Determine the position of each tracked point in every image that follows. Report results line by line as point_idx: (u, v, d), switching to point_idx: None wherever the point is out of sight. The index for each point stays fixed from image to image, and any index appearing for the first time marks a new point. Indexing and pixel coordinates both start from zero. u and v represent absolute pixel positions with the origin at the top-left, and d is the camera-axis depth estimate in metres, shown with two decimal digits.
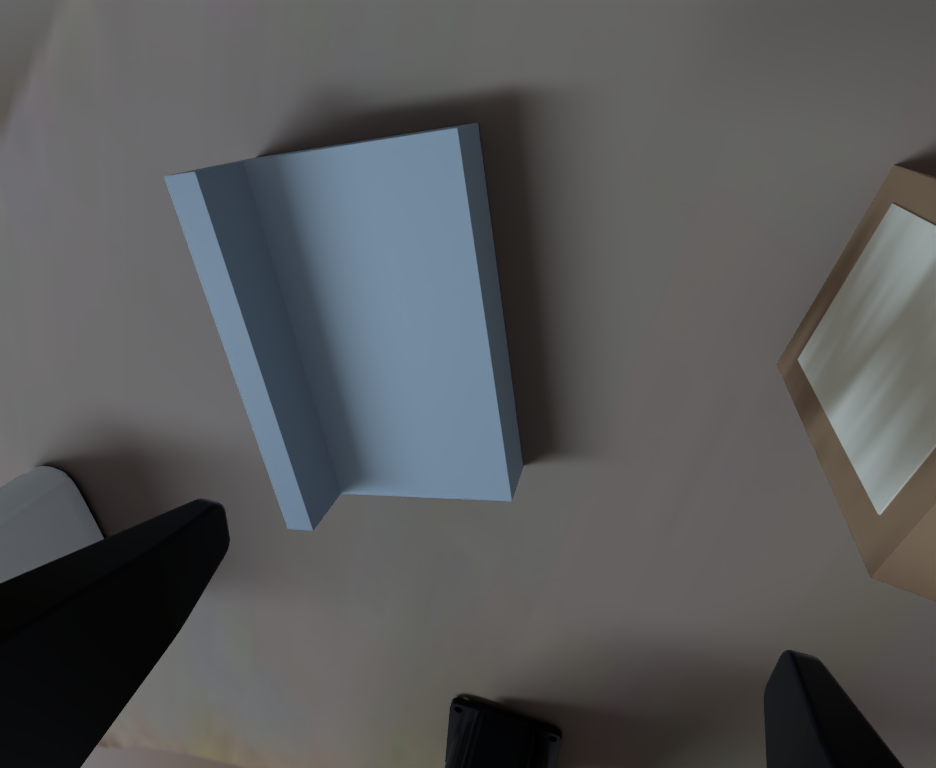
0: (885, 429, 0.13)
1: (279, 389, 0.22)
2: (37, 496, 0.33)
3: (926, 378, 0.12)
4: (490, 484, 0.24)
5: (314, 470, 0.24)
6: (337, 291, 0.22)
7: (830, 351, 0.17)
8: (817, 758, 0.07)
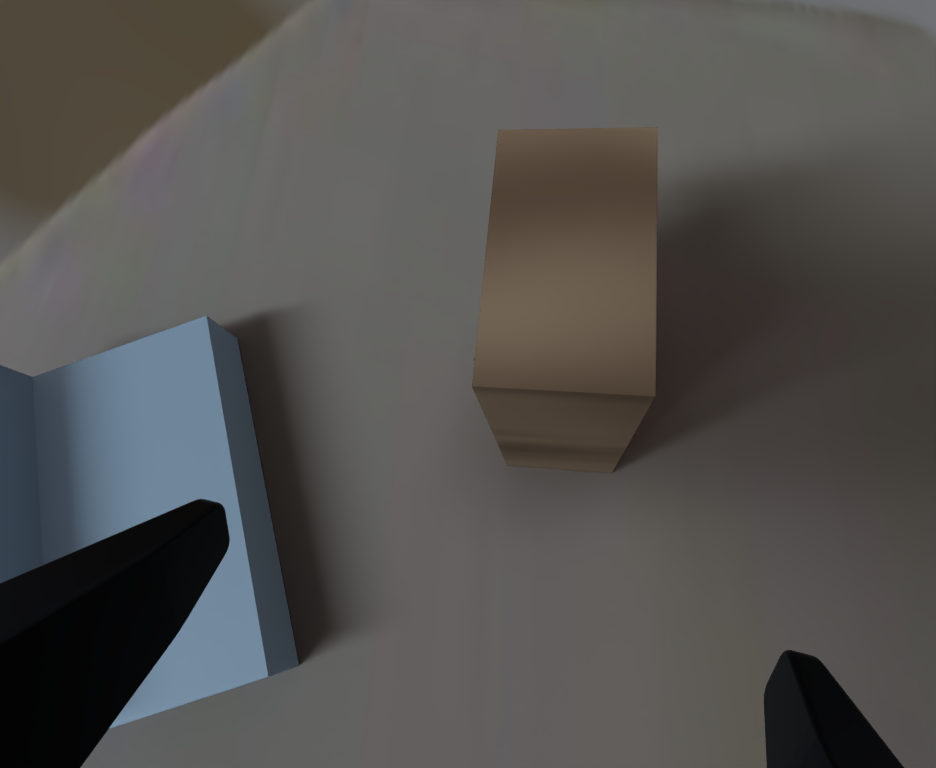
0: None
1: None
2: None
3: None
4: (242, 658, 0.20)
5: None
6: (94, 468, 0.23)
7: None
8: (817, 758, 0.07)
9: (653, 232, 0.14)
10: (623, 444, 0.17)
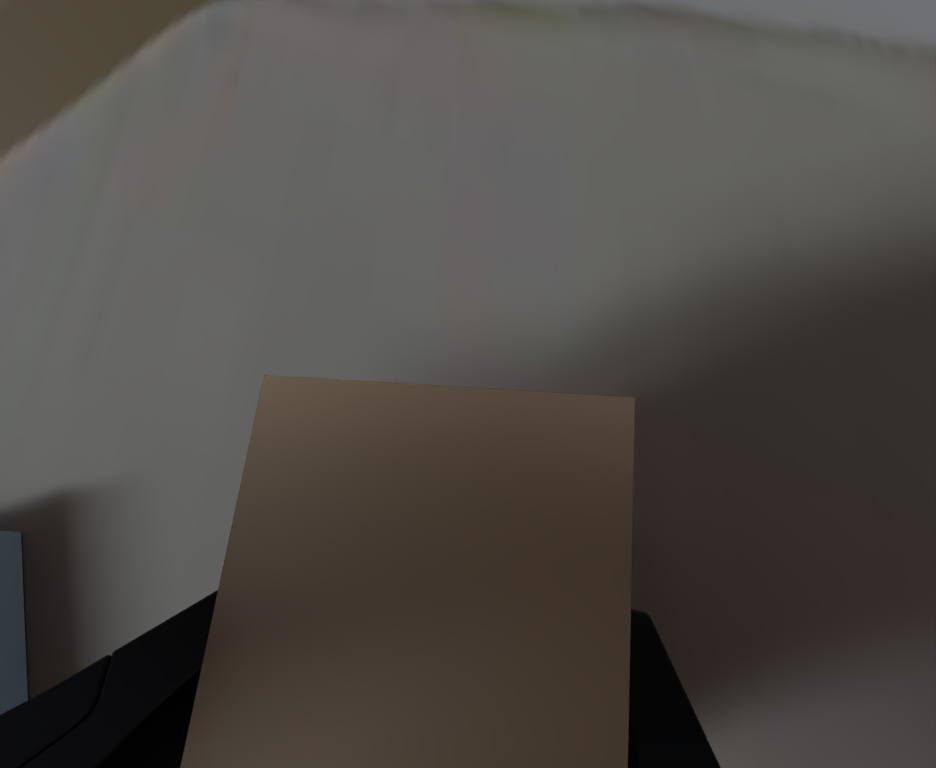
0: None
1: None
2: None
3: None
4: None
5: None
6: None
7: None
8: None
9: (619, 732, 0.05)
10: None
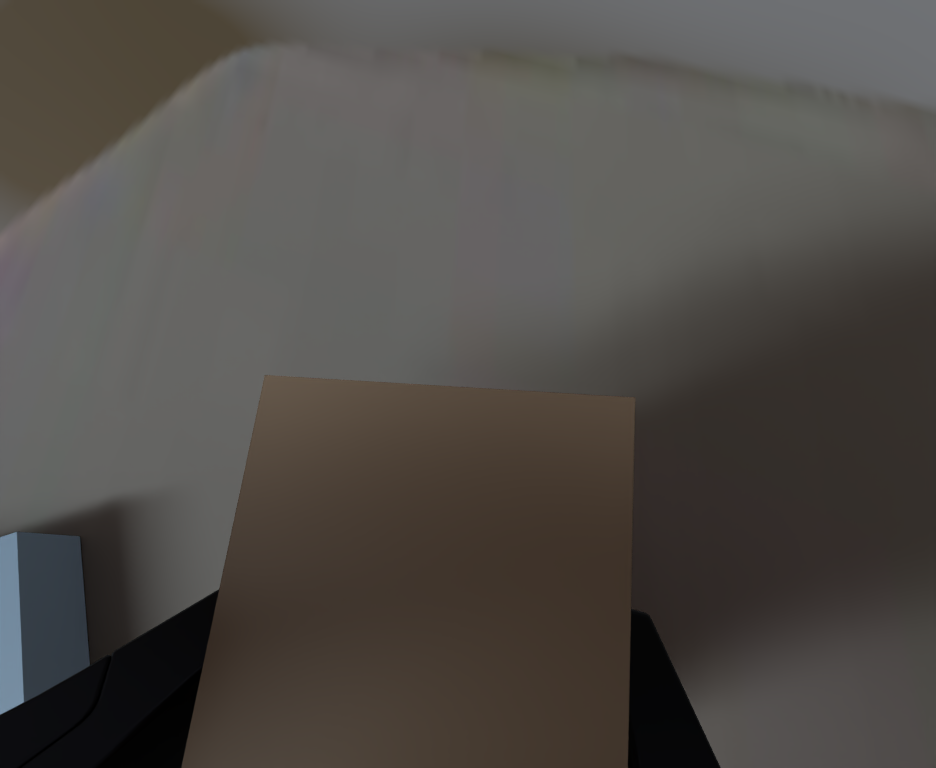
0: None
1: None
2: None
3: None
4: None
5: None
6: None
7: None
8: None
9: (619, 732, 0.05)
10: None
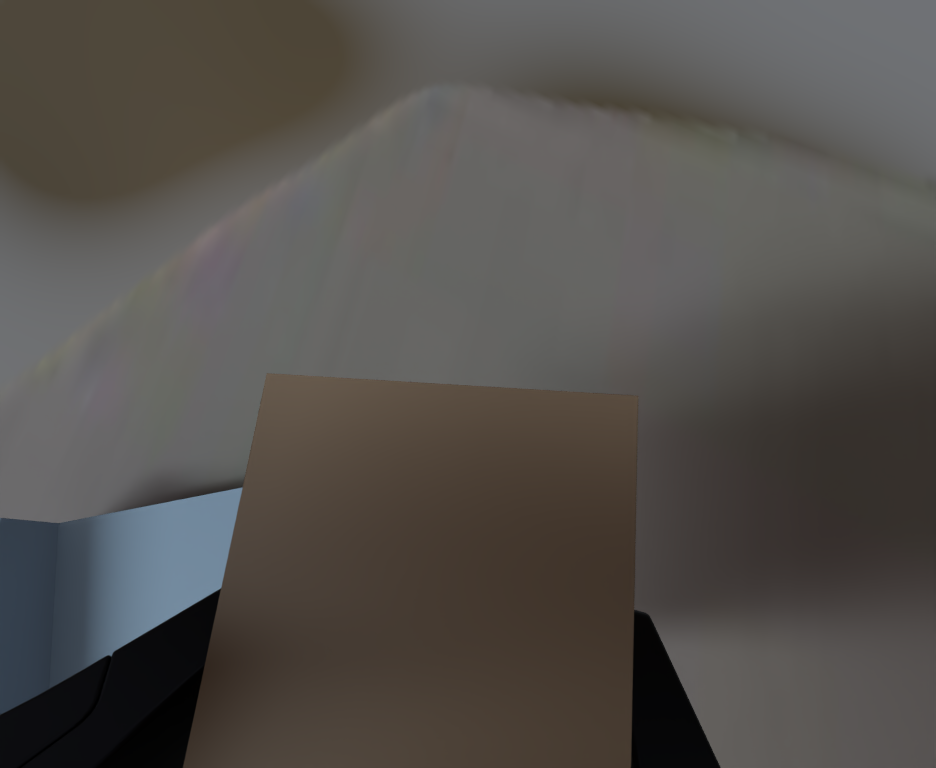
0: None
1: None
2: None
3: None
4: None
5: None
6: (112, 649, 0.21)
7: None
8: None
9: (622, 730, 0.05)
10: None
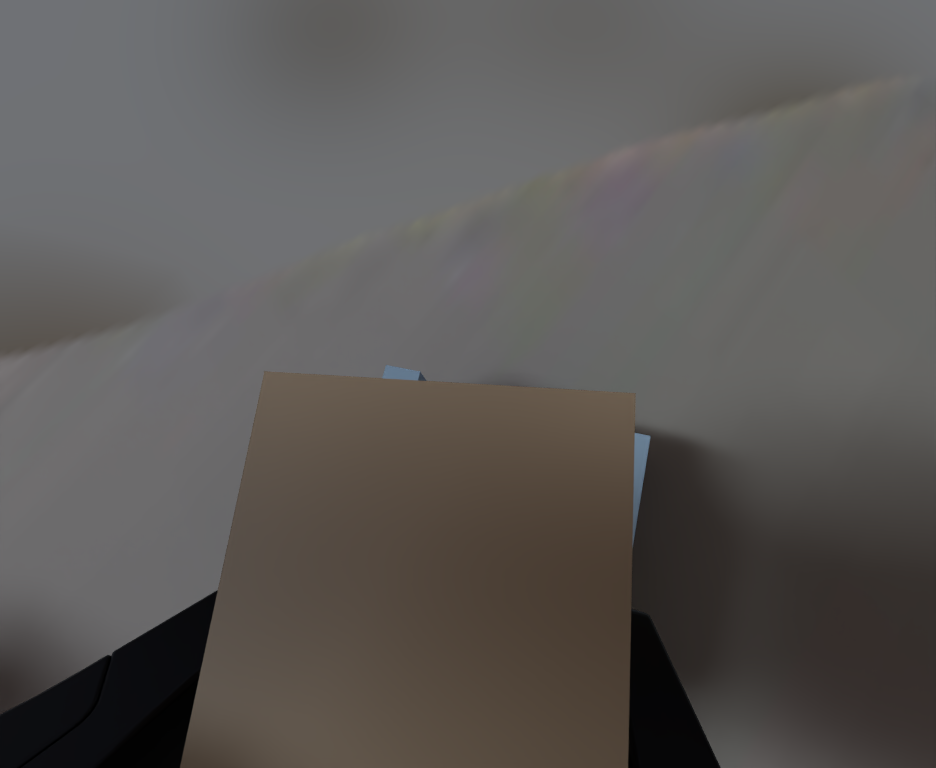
0: None
1: None
2: None
3: None
4: None
5: None
6: None
7: None
8: None
9: (619, 728, 0.05)
10: None
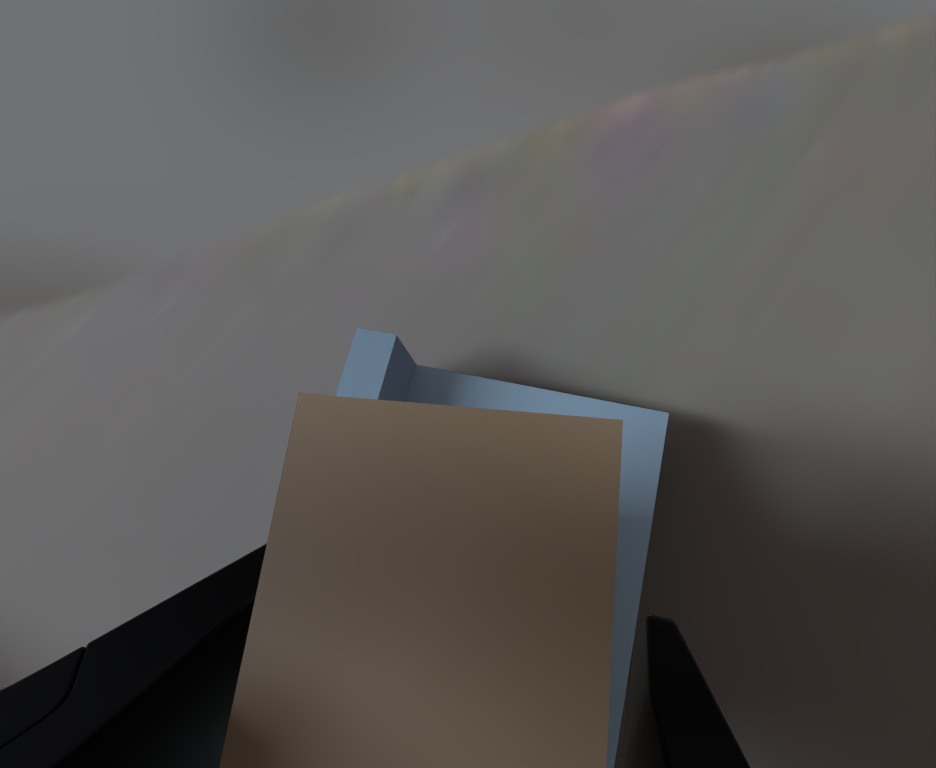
0: None
1: None
2: None
3: None
4: None
5: None
6: None
7: None
8: (648, 709, 0.07)
9: (601, 708, 0.06)
10: None
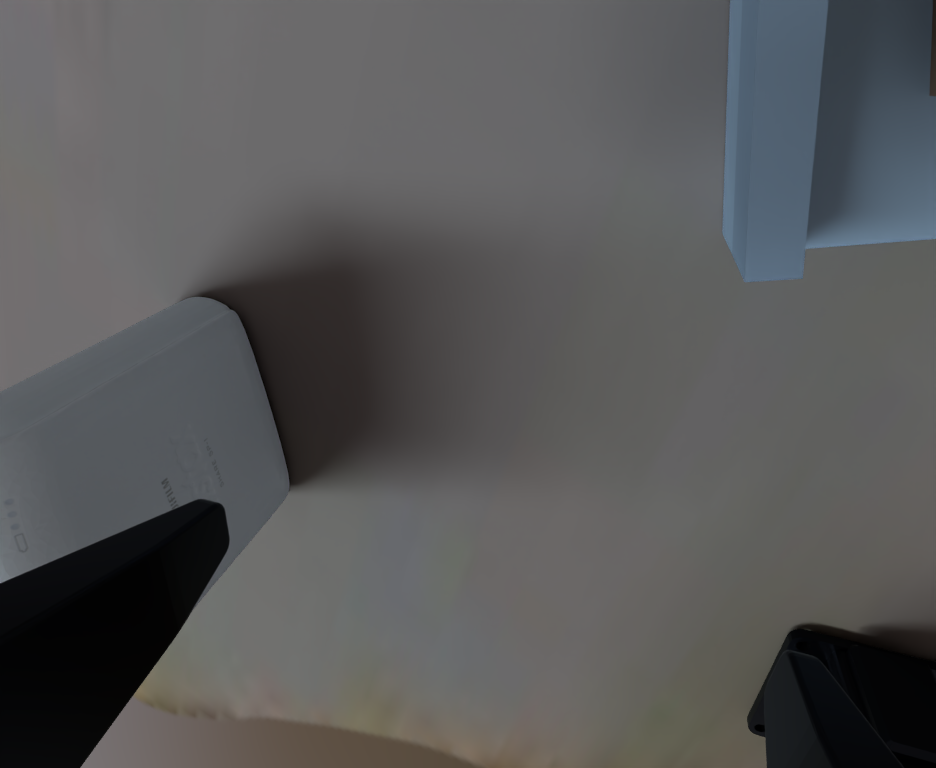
0: None
1: None
2: (201, 326, 0.22)
3: None
4: None
5: None
6: None
7: None
8: (817, 758, 0.07)
9: None
10: None
